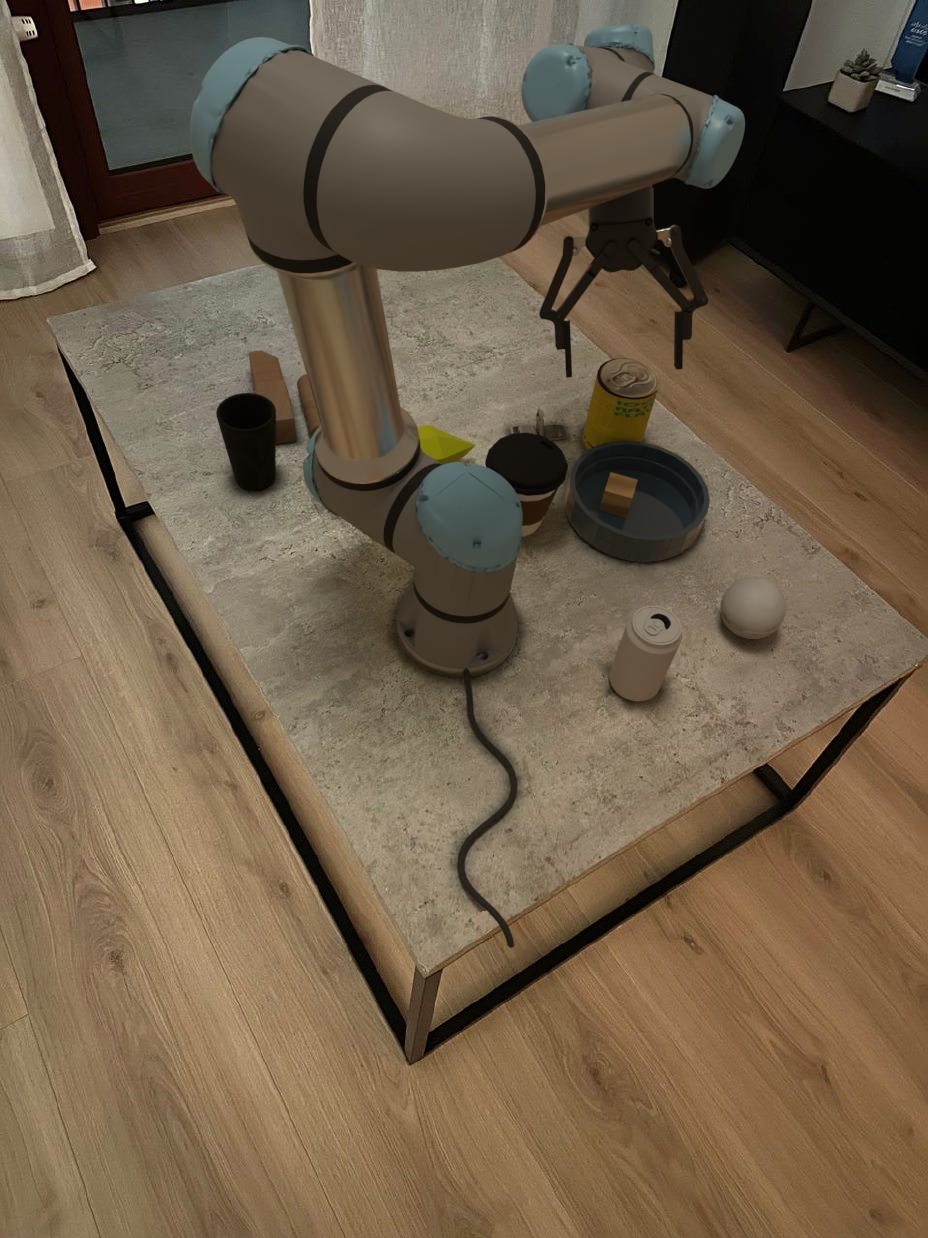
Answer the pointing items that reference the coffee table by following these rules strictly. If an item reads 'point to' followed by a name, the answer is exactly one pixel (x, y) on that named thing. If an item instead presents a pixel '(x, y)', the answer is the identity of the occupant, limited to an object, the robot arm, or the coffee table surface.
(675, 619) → the beverage can
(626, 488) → the block
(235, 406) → the cup
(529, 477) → the coffee cup
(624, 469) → the bowl
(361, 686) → the coffee table surface
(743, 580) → the bath bomb
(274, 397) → the wooden block set
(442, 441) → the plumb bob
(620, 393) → the beverage can
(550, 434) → the strap clip
